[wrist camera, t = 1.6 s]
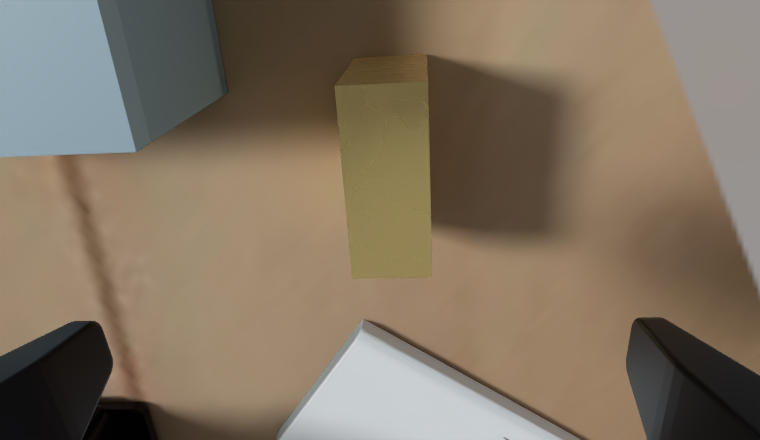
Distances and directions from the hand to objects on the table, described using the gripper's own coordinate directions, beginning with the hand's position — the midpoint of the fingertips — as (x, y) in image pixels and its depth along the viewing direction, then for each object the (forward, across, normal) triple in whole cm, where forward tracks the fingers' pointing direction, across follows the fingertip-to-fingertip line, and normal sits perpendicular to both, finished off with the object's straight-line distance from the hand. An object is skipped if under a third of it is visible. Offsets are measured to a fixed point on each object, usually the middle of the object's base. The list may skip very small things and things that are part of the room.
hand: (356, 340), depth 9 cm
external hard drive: (+13, -1, +15) cm, 20 cm away
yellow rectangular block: (+12, 0, 0) cm, 12 cm away
